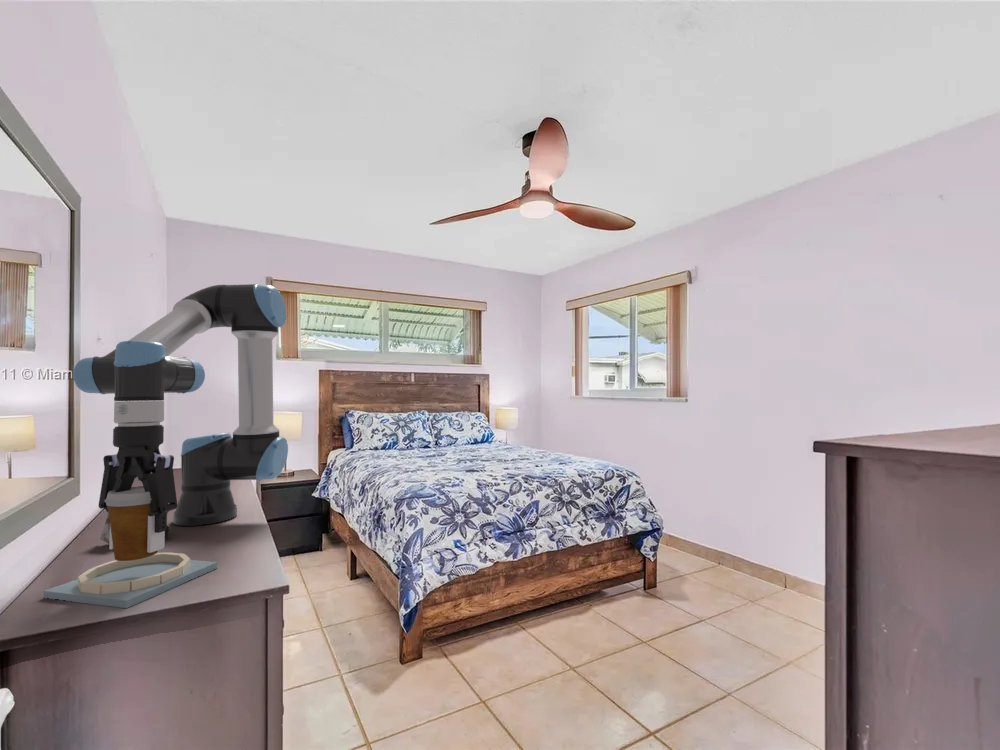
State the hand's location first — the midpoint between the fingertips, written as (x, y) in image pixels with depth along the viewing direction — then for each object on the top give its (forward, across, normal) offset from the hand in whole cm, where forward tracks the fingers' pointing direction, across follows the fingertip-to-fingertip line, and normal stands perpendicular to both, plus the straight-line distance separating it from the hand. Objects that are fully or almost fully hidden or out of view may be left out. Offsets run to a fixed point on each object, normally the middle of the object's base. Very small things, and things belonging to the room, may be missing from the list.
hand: (136, 548), depth 89 cm
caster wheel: (+6, -24, +20) cm, 32 cm away
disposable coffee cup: (+1, 0, 0) cm, 1 cm away
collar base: (+6, 0, 0) cm, 6 cm away
